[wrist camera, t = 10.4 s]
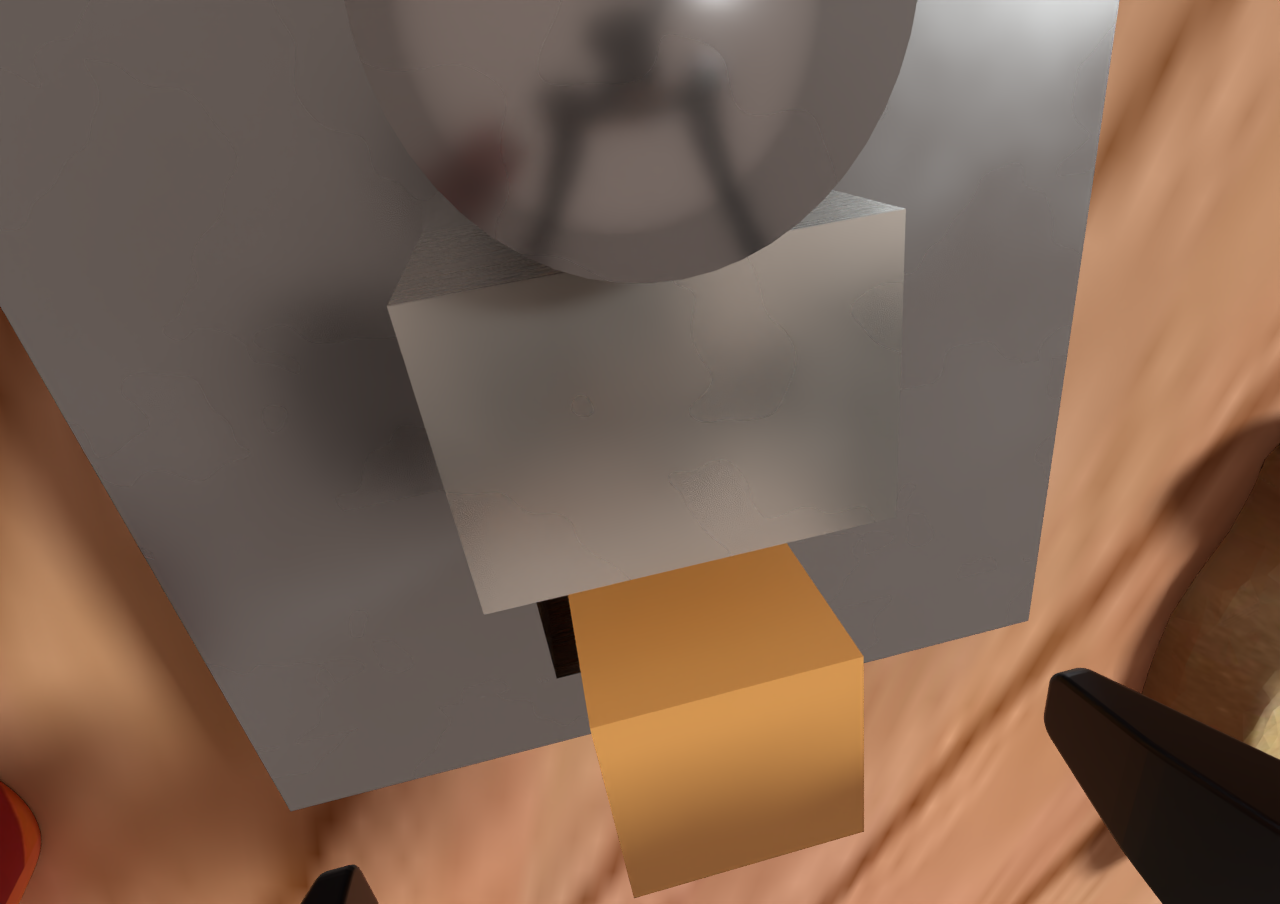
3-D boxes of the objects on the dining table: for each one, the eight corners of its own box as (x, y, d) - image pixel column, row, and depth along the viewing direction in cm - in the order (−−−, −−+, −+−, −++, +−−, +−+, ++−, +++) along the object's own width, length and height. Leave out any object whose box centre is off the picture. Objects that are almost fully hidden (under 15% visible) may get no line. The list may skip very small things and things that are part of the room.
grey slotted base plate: (1013, -295, 11) (1952, -999, 4) (950, 546, 18) (1238, 822, 11) (-103, -172, 9) (-1915, -1004, 2) (321, 699, 17) (201, 1134, 10)
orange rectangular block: (704, 522, 17) (864, 832, 10) (570, 554, 16) (634, 898, 9) (688, 398, 15) (862, 656, 8) (540, 430, 15) (589, 729, 8)
